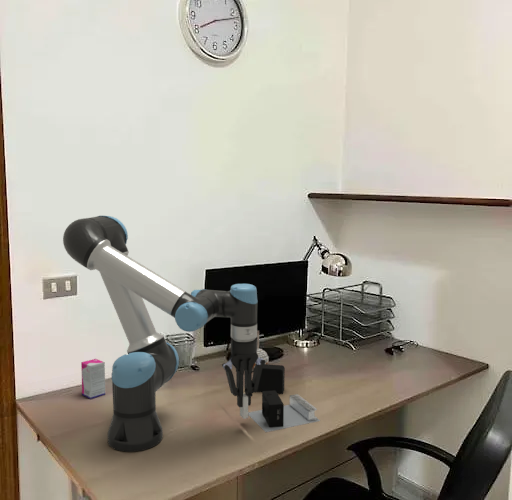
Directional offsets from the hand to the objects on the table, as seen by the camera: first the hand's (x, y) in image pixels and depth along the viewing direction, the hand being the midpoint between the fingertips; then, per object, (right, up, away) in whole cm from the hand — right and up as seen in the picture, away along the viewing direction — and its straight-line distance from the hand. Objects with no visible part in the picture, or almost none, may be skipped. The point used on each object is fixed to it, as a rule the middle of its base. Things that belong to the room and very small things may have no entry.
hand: (244, 416), depth 161 cm
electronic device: (+8, -1, +26) cm, 27 cm away
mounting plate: (+12, -3, +6) cm, 13 cm away
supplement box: (-51, 0, +25) cm, 57 cm away
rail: (+18, -1, +8) cm, 19 cm away
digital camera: (+8, -2, +4) cm, 9 cm away
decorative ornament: (+4, +3, +50) cm, 51 cm away
